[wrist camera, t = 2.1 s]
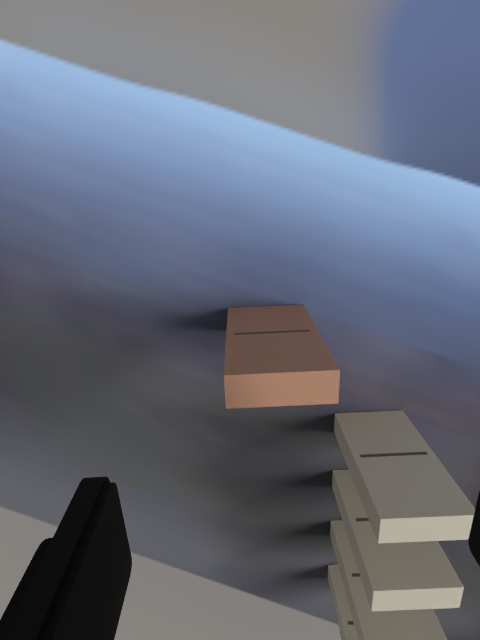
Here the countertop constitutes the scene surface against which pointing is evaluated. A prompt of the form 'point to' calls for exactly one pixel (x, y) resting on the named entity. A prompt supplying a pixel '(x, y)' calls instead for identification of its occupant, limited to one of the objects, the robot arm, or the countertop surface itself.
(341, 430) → the domino
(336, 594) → the domino
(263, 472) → the countertop surface
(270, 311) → the domino
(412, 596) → the domino
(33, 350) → the countertop surface
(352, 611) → the domino
